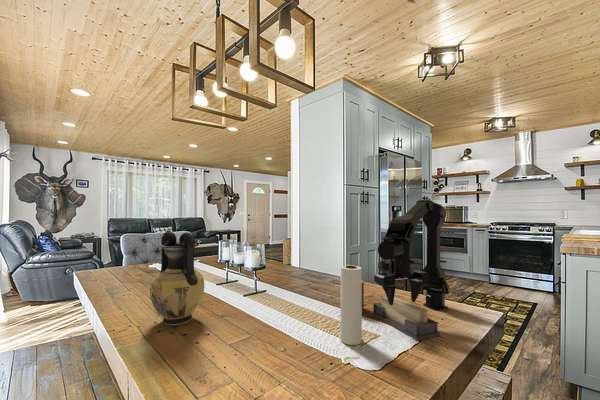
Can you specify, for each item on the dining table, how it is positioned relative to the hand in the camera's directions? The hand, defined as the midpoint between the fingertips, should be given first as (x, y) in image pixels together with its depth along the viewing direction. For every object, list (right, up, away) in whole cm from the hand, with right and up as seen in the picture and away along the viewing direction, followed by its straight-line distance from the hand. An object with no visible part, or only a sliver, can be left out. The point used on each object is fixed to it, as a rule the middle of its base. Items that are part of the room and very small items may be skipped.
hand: (402, 303), depth 94 cm
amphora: (-76, -7, +2) cm, 76 cm away
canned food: (-14, -7, +14) cm, 21 cm away
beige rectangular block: (0, -6, 0) cm, 6 cm away
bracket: (0, -7, 0) cm, 7 cm away
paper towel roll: (-19, -7, -12) cm, 23 cm away
